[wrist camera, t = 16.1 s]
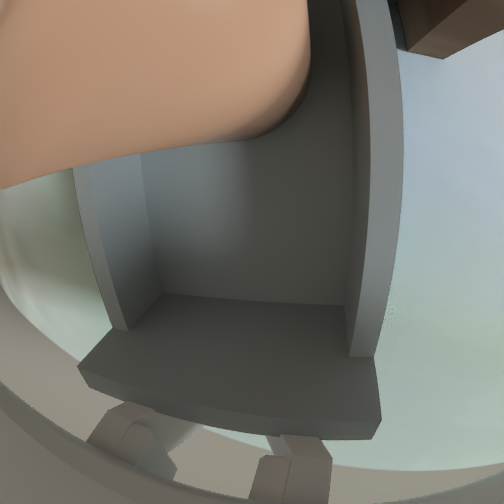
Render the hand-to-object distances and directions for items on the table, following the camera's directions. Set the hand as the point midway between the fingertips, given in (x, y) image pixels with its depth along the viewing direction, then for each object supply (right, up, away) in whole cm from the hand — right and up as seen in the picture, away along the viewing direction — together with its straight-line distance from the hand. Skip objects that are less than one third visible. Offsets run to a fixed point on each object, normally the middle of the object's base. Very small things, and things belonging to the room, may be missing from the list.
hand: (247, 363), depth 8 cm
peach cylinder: (0, +8, -2) cm, 8 cm away
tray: (0, +7, -1) cm, 7 cm away
